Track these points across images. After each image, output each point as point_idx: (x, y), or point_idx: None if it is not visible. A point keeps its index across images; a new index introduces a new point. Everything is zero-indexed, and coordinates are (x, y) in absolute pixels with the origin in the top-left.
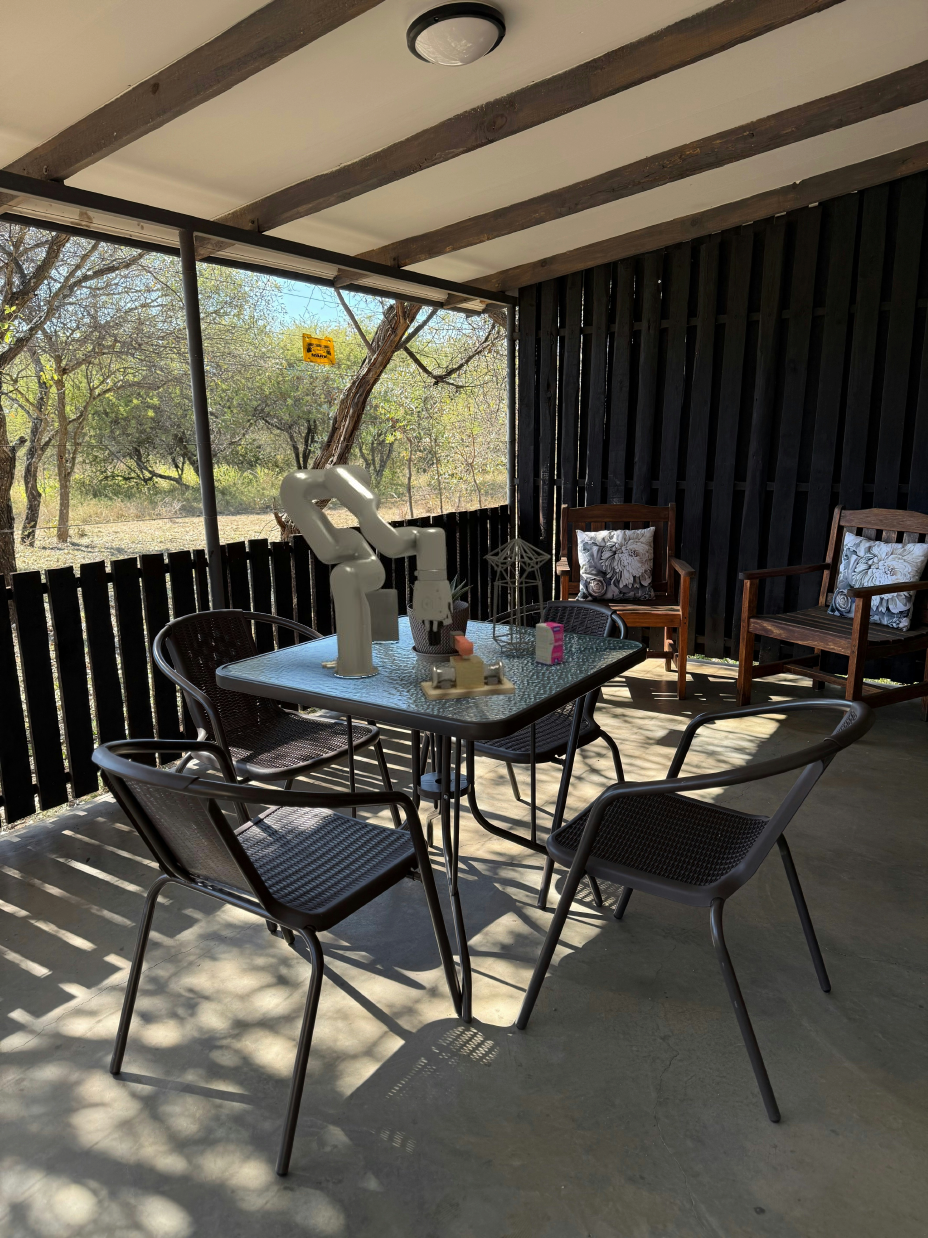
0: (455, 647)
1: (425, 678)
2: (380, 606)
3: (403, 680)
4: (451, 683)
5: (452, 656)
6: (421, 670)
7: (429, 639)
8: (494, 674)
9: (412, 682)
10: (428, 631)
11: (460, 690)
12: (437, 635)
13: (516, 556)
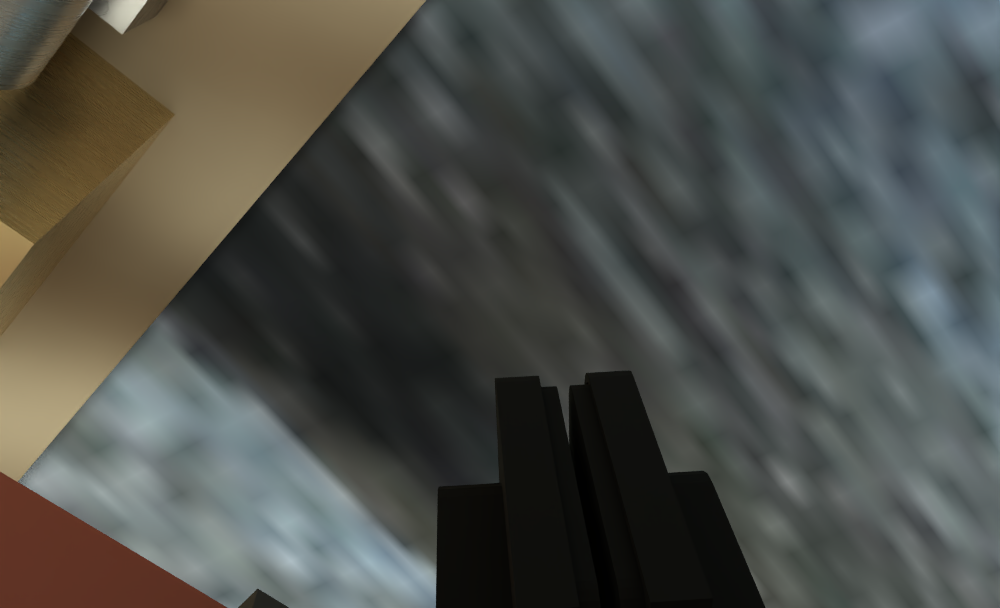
0: (171, 585)
1: (743, 293)
2: None
3: (946, 95)
4: (125, 71)
5: (4, 275)
6: (961, 514)
7: (632, 446)
8: None
9: (789, 75)
10: (702, 589)
11: None
12: (436, 598)
13: None
